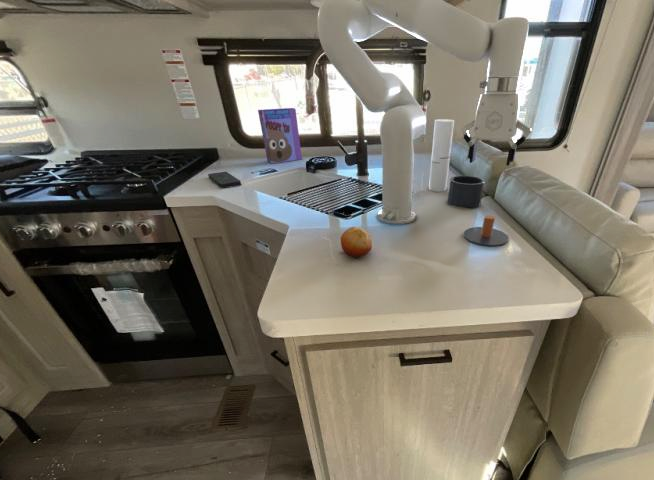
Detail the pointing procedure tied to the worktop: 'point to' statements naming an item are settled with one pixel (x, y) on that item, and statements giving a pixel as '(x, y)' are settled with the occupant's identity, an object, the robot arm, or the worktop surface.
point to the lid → (486, 234)
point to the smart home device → (224, 179)
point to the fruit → (356, 242)
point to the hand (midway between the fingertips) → (489, 163)
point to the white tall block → (440, 154)
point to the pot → (465, 191)
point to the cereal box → (280, 135)
